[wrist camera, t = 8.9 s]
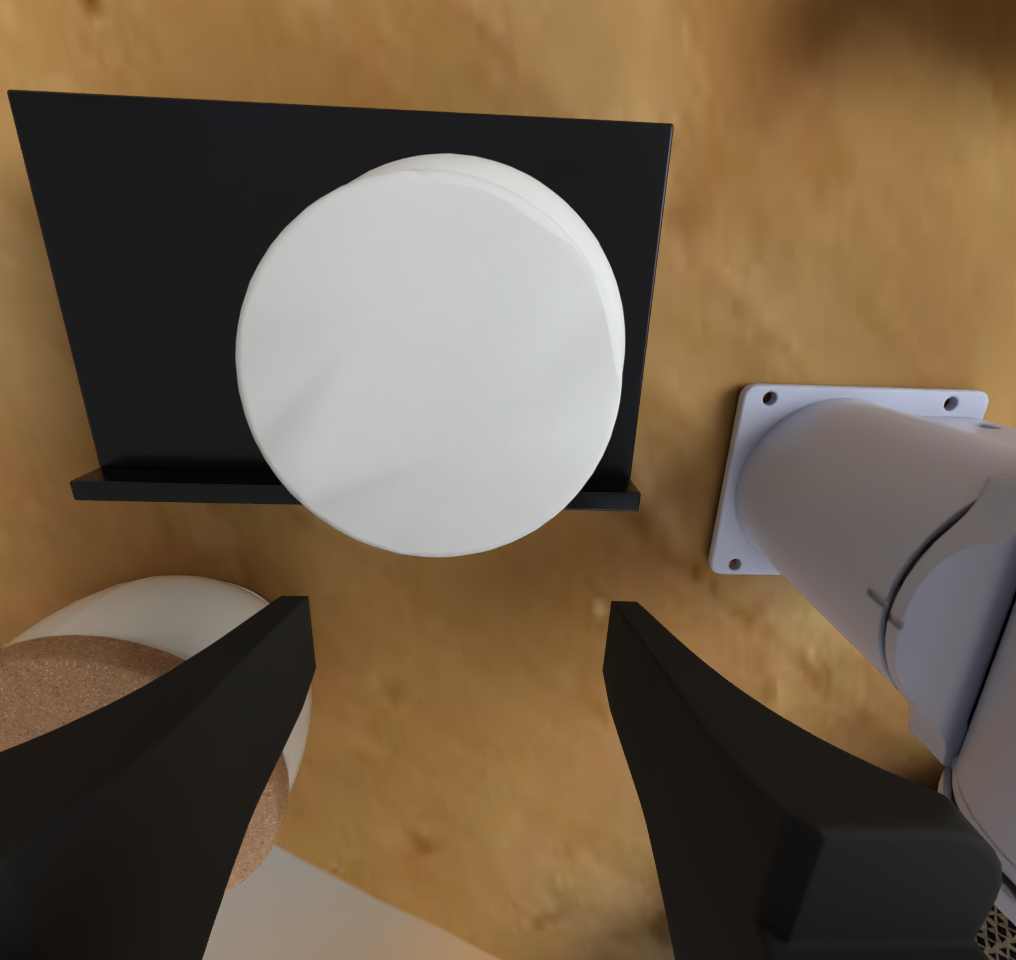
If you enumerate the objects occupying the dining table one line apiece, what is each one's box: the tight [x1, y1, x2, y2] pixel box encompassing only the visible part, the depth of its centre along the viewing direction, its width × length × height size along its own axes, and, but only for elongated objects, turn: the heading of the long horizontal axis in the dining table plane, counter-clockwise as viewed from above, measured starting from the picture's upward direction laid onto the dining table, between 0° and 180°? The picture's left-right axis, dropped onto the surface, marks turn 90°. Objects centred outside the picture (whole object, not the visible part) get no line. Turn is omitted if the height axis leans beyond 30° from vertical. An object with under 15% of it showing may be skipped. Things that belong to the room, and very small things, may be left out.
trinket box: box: [0, 575, 312, 893], centre depth 19 cm, size 11×11×9 cm
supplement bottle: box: [235, 153, 625, 557], centre depth 10 cm, size 5×5×10 cm
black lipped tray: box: [7, 90, 674, 511], centre depth 16 cm, size 16×10×6 cm, turn 88°
